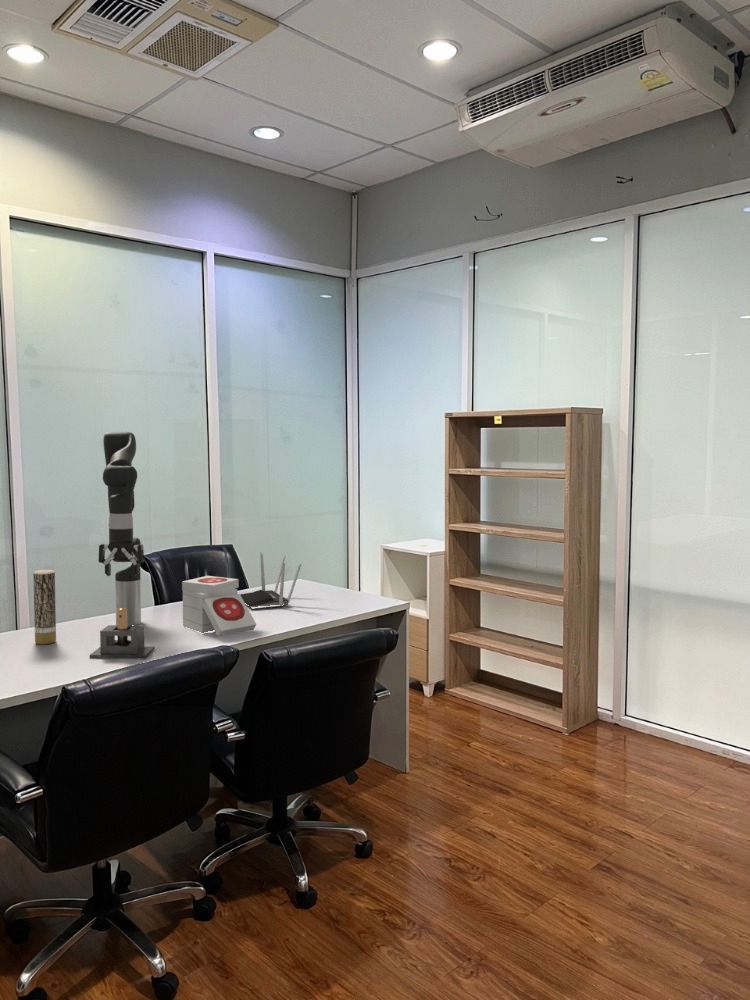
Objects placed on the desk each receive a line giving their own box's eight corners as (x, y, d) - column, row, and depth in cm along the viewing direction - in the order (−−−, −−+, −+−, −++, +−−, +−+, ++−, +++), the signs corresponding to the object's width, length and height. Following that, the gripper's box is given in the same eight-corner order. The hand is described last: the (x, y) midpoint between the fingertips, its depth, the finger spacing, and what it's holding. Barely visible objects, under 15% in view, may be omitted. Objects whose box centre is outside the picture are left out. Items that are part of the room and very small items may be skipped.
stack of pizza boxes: (216, 642, 269) (216, 591, 268) (175, 626, 291) (175, 579, 290) (262, 633, 282) (262, 585, 280) (219, 619, 304) (219, 574, 303)
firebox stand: (101, 648, 259) (101, 624, 258) (154, 649, 259) (154, 624, 258) (89, 658, 248) (89, 632, 247) (145, 658, 248) (145, 632, 247)
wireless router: (232, 597, 346) (232, 553, 344) (281, 594, 355) (281, 551, 354) (253, 613, 315) (253, 565, 314) (306, 608, 325) (306, 562, 323)
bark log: (50, 638, 271) (48, 569, 269) (59, 642, 267) (58, 571, 265) (31, 642, 266) (29, 571, 264) (40, 646, 261) (39, 573, 260)
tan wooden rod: (119, 649, 255) (118, 607, 254) (129, 649, 255) (128, 607, 254) (116, 652, 252) (115, 610, 250) (126, 652, 252) (125, 610, 250)
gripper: (146, 525, 254) (146, 574, 255) (103, 525, 254) (103, 573, 255) (139, 528, 247) (140, 578, 248) (95, 527, 247) (95, 577, 248)
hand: (121, 575), depth 252 cm, fingers open, 8 cm apart
